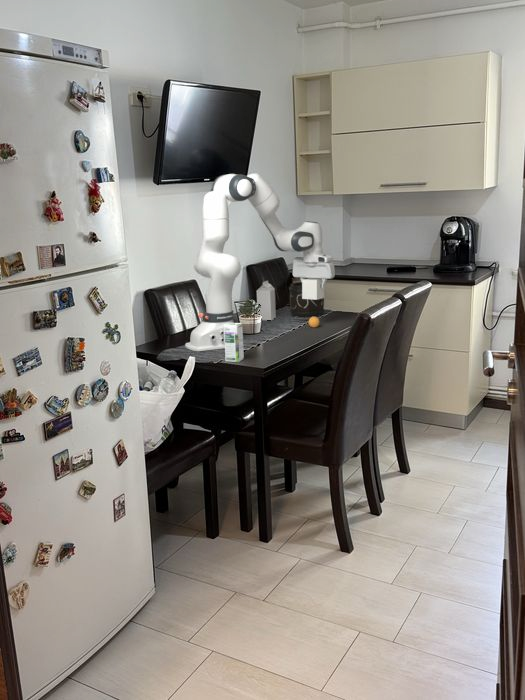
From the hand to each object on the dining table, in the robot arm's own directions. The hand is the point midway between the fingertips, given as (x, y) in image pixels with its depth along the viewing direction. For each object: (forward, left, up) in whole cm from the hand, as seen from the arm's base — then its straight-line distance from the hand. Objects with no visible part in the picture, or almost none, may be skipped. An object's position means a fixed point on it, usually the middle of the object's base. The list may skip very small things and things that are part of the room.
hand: (313, 287), depth 311 cm
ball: (-1, 0, -16) cm, 16 cm away
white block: (-1, 0, -5) cm, 5 cm away
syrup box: (-56, -31, -19) cm, 67 cm away
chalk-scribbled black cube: (+13, +27, -19) cm, 35 cm away
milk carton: (-9, +30, -19) cm, 37 cm away
